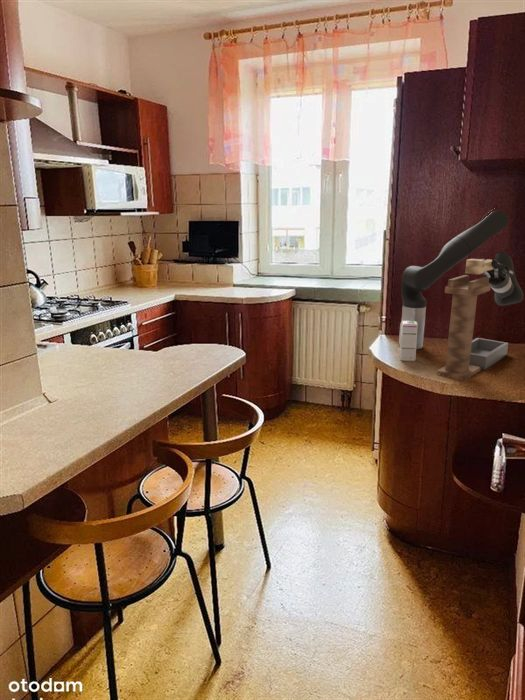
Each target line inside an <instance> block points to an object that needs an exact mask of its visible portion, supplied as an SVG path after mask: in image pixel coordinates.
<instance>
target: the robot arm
mask: <svg viewBox="0 0 525 700" xmlns="http://www.w3.org/2000/svg"><path fill="white" fill-rule="evenodd" d="M482 219H483V218H482ZM482 219H481V221H479V222H478V223H476V224H475V225H472V226H471V227H469V228H468V229H466V230H464V231H462V232H460V233H459V234H458V235H456V236H455V237H453V238H452V239H451V240H449V241H448V242H447V243H446V244H444V245H443V247H442V248H441V250H440V251H439V254H438V256H437V257H436V258H435V259H434V260H433V261H431V262H430V263H427V264H426V265H424V266H418V265H410V266H408V267H406V268H405V269H404V271H403V273H402V276H401V291H400V292H401V294H400V296H401V300H402V308H401V309H402V311H401V321H400V323H399V324H400V325H399V336H398V345H400V343H401V327H402V321H416V322H417V325H418V328H417V346H416V350H419V349H422V348H423V345H424V344H423V343H424V336H425V324H426V311H427V310H426V309H427V299H426V298H425V297H424V296H423V293H422V291H426V290H427V289H428V288H430V287H431V286H432V285H434V284H435V282H436V281H438V280H439V279H440V278H441V277H442V276H443V275H444V274H446V273H447V272H448V271H450V270H451V269H452V268H454V267H455V266H456V265H457V264H459V263H460V262H462V261H463V260H464V259H466V258H467V257H469V256H470V255H471V254H473V253H474V252H475V251H476V250H477V249H479V248H480V246H482V245H483V244H484V243H485V242H487V239H488V238H489V237H491V236H492V235H494V234H496V233H497V232H499V231H501V230H502V229H504V228H505V227H506V226H507V224H508V217H507V215H506V214H505V213H504V212H502V211H499V210H498V211H497V210H496V211H493V212H491V213H490V214H489V215H488V216H486V217H485V218H484V219H483V220H482ZM505 229H506V228H505ZM505 229H504V230H505ZM502 231H503V230H502ZM510 256H511V255H510ZM510 256H509V255H508V254H507V253H505V252H499V253H497V254H496V256H495V259H491V260H492V263H491V265H492V267H493V268H494V269H492V270H489V271H485V272H483V273H482V275H483V276H484V277H489V284H488V285H491V288H490V289H492V290H493V291H494V302H495V303H496V305H498V306H501V307H502V306H510V305H514V304H519V303H521V302H522V301H523V300H524V295H525V294H524V292H523V289H522V288H521V286H520V284H519V282H518V280H517V277H516V273H515V269H514V268H515V267H514V263H513V259H511V258H512V256H511V257H510ZM481 259H482V260H486V258H484V257H482V258H481Z"/></svg>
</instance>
